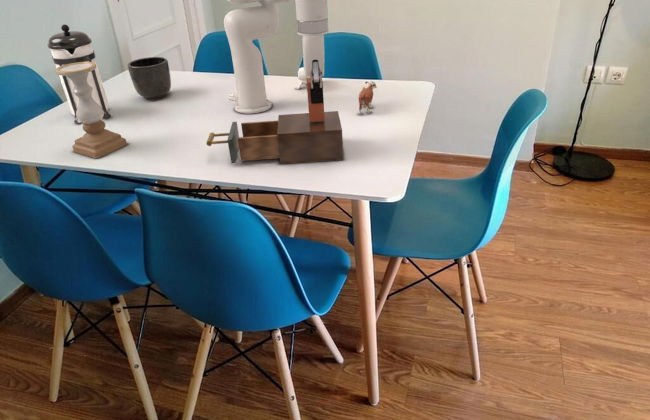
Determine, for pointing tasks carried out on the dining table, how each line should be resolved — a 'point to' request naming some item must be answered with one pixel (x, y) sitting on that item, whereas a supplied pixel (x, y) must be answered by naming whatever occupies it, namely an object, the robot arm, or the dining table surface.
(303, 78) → the white lamb toy
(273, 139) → the drawer
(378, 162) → the dining table surface
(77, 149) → the candle holder
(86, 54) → the coffee press
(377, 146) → the dining table surface
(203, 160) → the dining table surface
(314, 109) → the block
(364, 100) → the bull figurine
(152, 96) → the planter
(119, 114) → the dining table surface
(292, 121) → the cabinet
